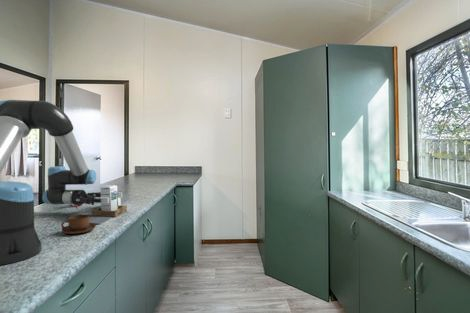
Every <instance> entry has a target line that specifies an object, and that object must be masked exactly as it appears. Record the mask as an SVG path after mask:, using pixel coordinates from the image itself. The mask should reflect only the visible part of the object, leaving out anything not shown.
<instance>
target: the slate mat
mask: <svg viewBox="0 0 470 313" xmlns="http://www.w3.org/2000/svg"><path fill="white" fill-rule="evenodd" d="M111 219H112V217H91V216H89V223H94V224H96V226H99V225H101V224H103V223H105V222H107V221H109V220H111Z"/></svg>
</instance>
